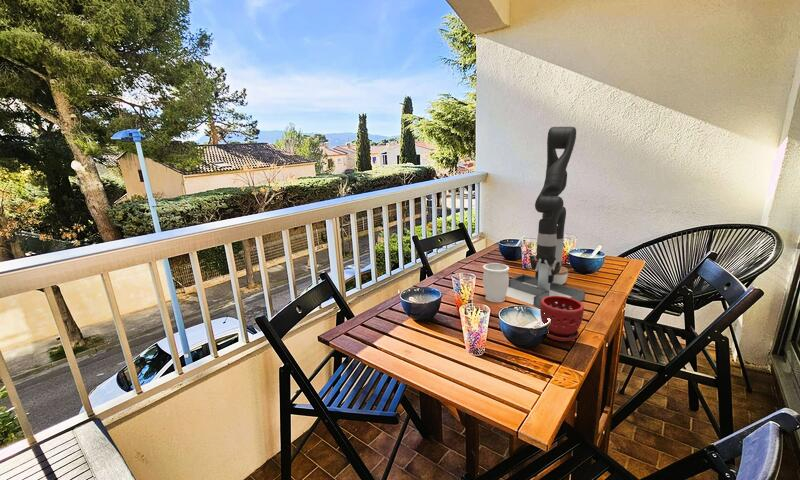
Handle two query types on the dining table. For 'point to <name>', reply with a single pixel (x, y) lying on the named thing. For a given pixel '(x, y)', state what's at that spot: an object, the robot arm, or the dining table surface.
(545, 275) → the peg
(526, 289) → the channel walls
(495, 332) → the dining table surface
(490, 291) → the jar
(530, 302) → the channel board
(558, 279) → the lidded jar
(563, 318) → the plant pot
